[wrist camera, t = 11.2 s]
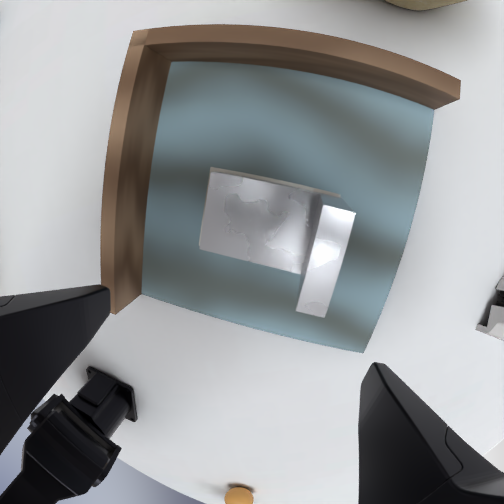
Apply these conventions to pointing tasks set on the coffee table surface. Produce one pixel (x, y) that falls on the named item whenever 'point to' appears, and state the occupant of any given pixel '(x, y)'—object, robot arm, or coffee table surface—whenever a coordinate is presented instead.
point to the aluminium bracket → (279, 231)
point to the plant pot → (422, 3)
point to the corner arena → (263, 166)
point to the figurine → (238, 496)
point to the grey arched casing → (495, 316)
